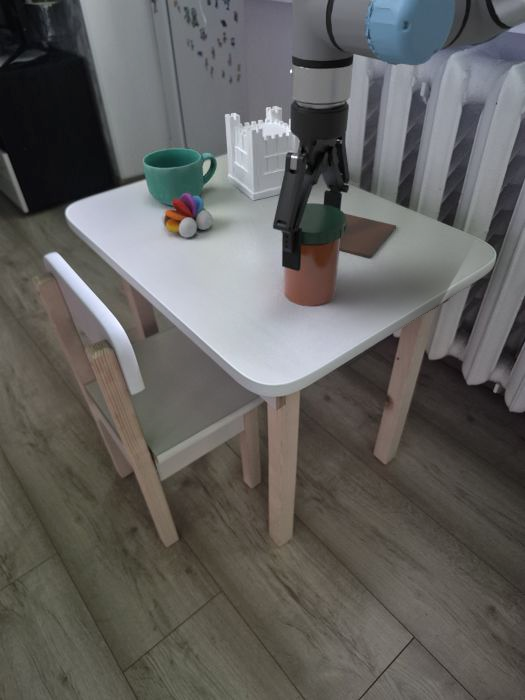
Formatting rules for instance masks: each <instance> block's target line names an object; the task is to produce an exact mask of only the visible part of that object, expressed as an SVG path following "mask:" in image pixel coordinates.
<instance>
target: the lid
mask: <svg viewBox="0 0 525 700" xmlns="http://www.w3.org/2000/svg"><path fill="white" fill-rule="evenodd" d="M345 214H346V213H344V211H342V210H339V209H338V208H335V207H333V206H329V205H325V204H324V203H316V202H313V203H311V202H310V203H308V202H307V205H306V208H305V210H304V213H303V216H302V219H301V222H300V225H299V228H302V241H301V243H303V244H325V243H330V242H333V241H336V240H338V239H339V238H341V237H342V236H343V235H344V234H345V230H346V225H347V222H346V220H347V219H346V215H345ZM280 232H281V233H282V231H280Z"/></svg>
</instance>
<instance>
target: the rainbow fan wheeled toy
mask: <svg viewBox="0 0 525 700" xmlns="http://www.w3.org/2000/svg"><path fill="white" fill-rule="evenodd" d="M172 204H173V206H172V207H173V208H170V209H166V210H164V212H163V213H162V216H161V223H162V224H163V226H164V227H165V228H166V230H167V231H168V232H170V233H179V235H180V236H181V237H183V238H191V237H193V236H194V235H195V234H196V233H197V230H201V231H205V230H209V229H210V228H211V226H212V225H213V221H214V220H213V214H212V213H211V212H210V211H209V210H207V209H206V208H205V206H204V205H205V204H204V200H203V198H202V197H201V196H200V195H199V196H192V195H191V194H189V193H185V194H183V195H182V196H181V198H180V200H179V199H177V198H175V199H173V200H172Z"/></svg>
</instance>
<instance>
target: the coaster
mask: <svg viewBox="0 0 525 700" xmlns="http://www.w3.org/2000/svg"><path fill="white" fill-rule="evenodd" d="M344 214H345V215H346V219H347V220H346V222H347V225H346V230H345V234H344V235H343V236H342V237H341V242H340V252H343V253H347V254H352V255H355V256H359V257H363V258H366V259H371V258H372V257H373V256H374V255H375V253H376V252H377V251H378V250H379V249H380V248H381V247H382V245H383V244H385V242H386V240H388V238H389V237H390V236H391V234H392V233H393V232H394V231H395V229H396V228H397V225H395V224H392V223H389V222H388V223H387V222H383V221H379V220H375V219H370V218H366V217H361V216H357V215H353V214H348V213H344Z"/></svg>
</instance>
